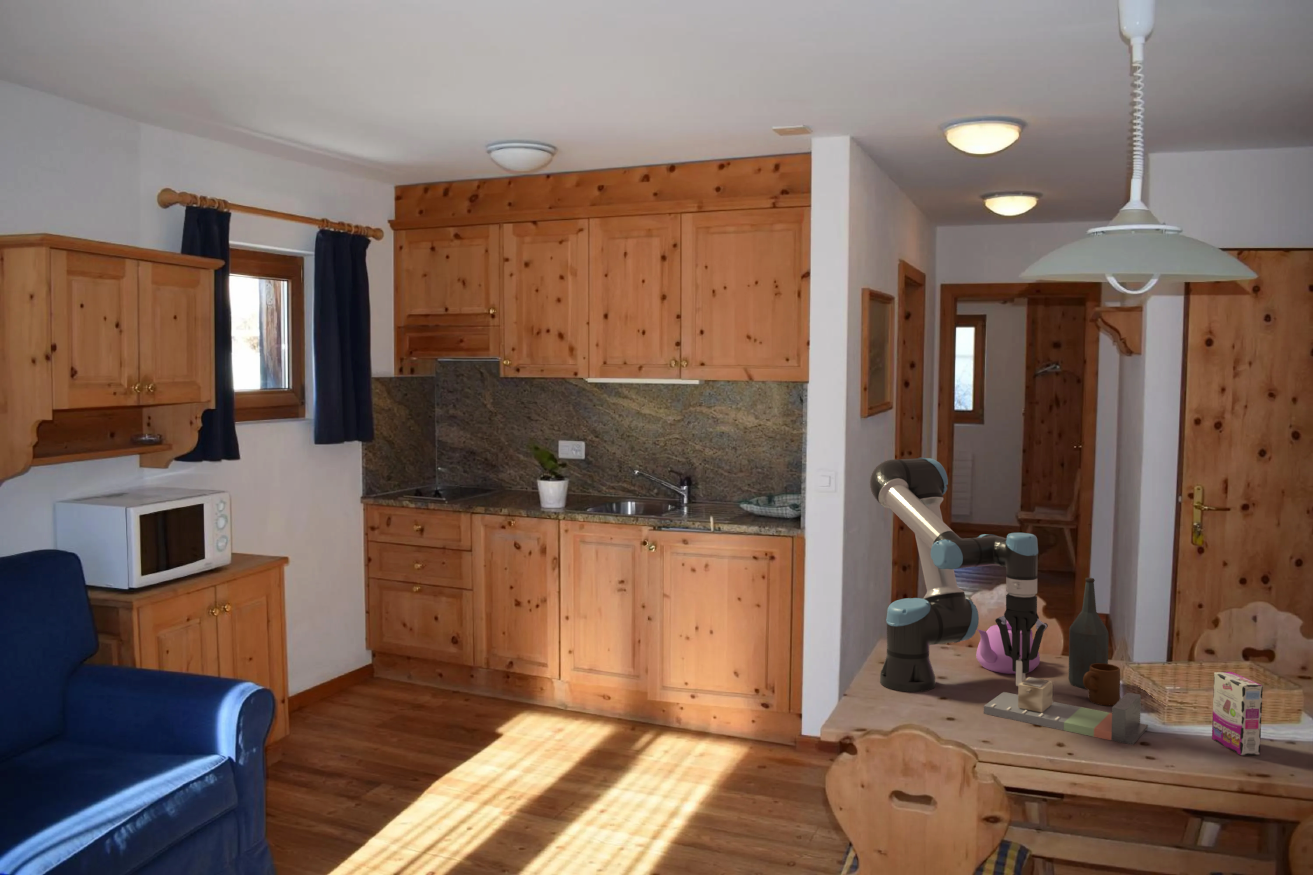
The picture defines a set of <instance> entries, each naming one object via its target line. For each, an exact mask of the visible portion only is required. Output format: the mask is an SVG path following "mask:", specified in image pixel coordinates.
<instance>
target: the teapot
mask: <svg viewBox="0 0 1313 875" xmlns="http://www.w3.org/2000/svg"><path fill="white" fill-rule="evenodd" d="M1006 621H1007V620H1006ZM1006 625H1007V628H1008V632H1009V637H1010V641H1011V646H1012V632H1011V629H1012V627H1011V626H1010V624H1009V623H1008V621H1007V623H1006ZM976 631H978V633H979V634H980V640H979V643H978V646H977V648H976V653H975V654H976V655H975V657H976V660H977V662H978V663H979V664H980V665H981V667H983V668H984V669H985V670H988V671H990V672H995V673H1000V674H1004V675H1005V674H1009V675H1016V672H1014V671H1013V670H1012V658H1011V657H1009V656H1006V655H1005V652H1004V647H1003V643H1002V638H1001V634H1000V630H999V627H998V625H997V624H994V625H991V626H989V628H988V629H987V630H986V631H985V630H982V629H978V628H977V630H976ZM1033 640H1034V638H1033V631H1032V629H1031V633H1030V652H1031V648H1032V644H1033ZM1020 655H1021V656H1020V657H1019V658H1022V634H1021V631H1020ZM1040 657H1041V656H1040V652H1039V651H1038V654H1037V657H1036V658H1035V659H1033V660H1029V672H1028V673H1027V674H1029V673H1032V672H1033V671H1034V670H1035V669H1036V668H1037V667H1038V666H1039V664H1040V661H1041V660H1040Z"/></svg>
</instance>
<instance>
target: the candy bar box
mask: <svg viewBox="0 0 1313 875" xmlns="http://www.w3.org/2000/svg"><path fill="white" fill-rule="evenodd" d="M1263 688H1264V686H1263V685H1262V684H1260V683H1259V682H1256V681H1253V680H1251V679H1249V678H1247V677H1244V676H1243V675H1240V674H1238V673H1235V672H1233V671H1219V672H1218V671H1217V672H1215V671H1214V672H1213V693H1212V694H1213V697H1212V698H1213V699H1212V720H1211V721H1212V722H1211V724H1212V725H1211V728H1212V729H1211V739H1212V740H1213V741H1215V742H1217V743H1218V744H1220V745H1222V746H1223V747H1225V748H1227V749H1228V750H1231V751H1233V752H1234V753H1236V754H1238V755H1240V756H1260V755H1261V736H1262V734H1261V733H1262V715H1263V714H1262V712H1263V711H1262V710H1263V691H1264V690H1263Z"/></svg>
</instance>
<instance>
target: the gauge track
mask: <svg viewBox="0 0 1313 875" xmlns="http://www.w3.org/2000/svg"><path fill="white" fill-rule="evenodd" d="M983 714H984V715H989V716H994V717H998V718H1003V719H1009V720H1013V721H1018V722H1022V723H1028V724H1032V725H1037V726H1040V727H1041V726H1042V727H1047V728H1051V729H1056V730H1061V731H1064V732H1070V733H1074V734H1075V733H1076V734H1079V735H1085V736H1089V737H1094V738H1099V739H1103V740H1109V741H1112V740H1111V736H1112V712H1109V711H1103V710H1099V709H1093V708H1088V707H1082V706H1078V705H1077V706H1076V705H1073V704H1072V705H1071V704H1066V703H1062V702H1057V701H1053V700H1052V705H1051V706H1049V707H1048V708H1047V709H1046V710H1045V711H1043V712H1037V711H1032V710H1027V709H1022V708H1018V694H1015V693H1010V692H1006V691H1003V692H1001V693H1000V694H999V695H997V696H996V697H994V698H992V699H991V700H990V701H989V702H987V703H985V704H984V705H983Z"/></svg>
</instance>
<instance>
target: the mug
mask: <svg viewBox="0 0 1313 875" xmlns="http://www.w3.org/2000/svg"><path fill="white" fill-rule="evenodd" d="M1083 684H1084V687H1085V688H1086V690H1087V691H1088V700H1089V701H1090V702H1091V703H1093V704H1094V705H1095V704H1096V705H1098V706H1106V707H1113V706H1114V705H1115V704H1116V703H1117V702H1118V701H1119V700H1120V699H1121V668H1120V667H1119V666H1118V665H1114V664H1111V663H1108V664H1105V663H1095V664H1091V665H1090V669H1089V672H1087V673H1085V675H1084V677H1083ZM1085 688H1084V689H1085Z"/></svg>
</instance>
